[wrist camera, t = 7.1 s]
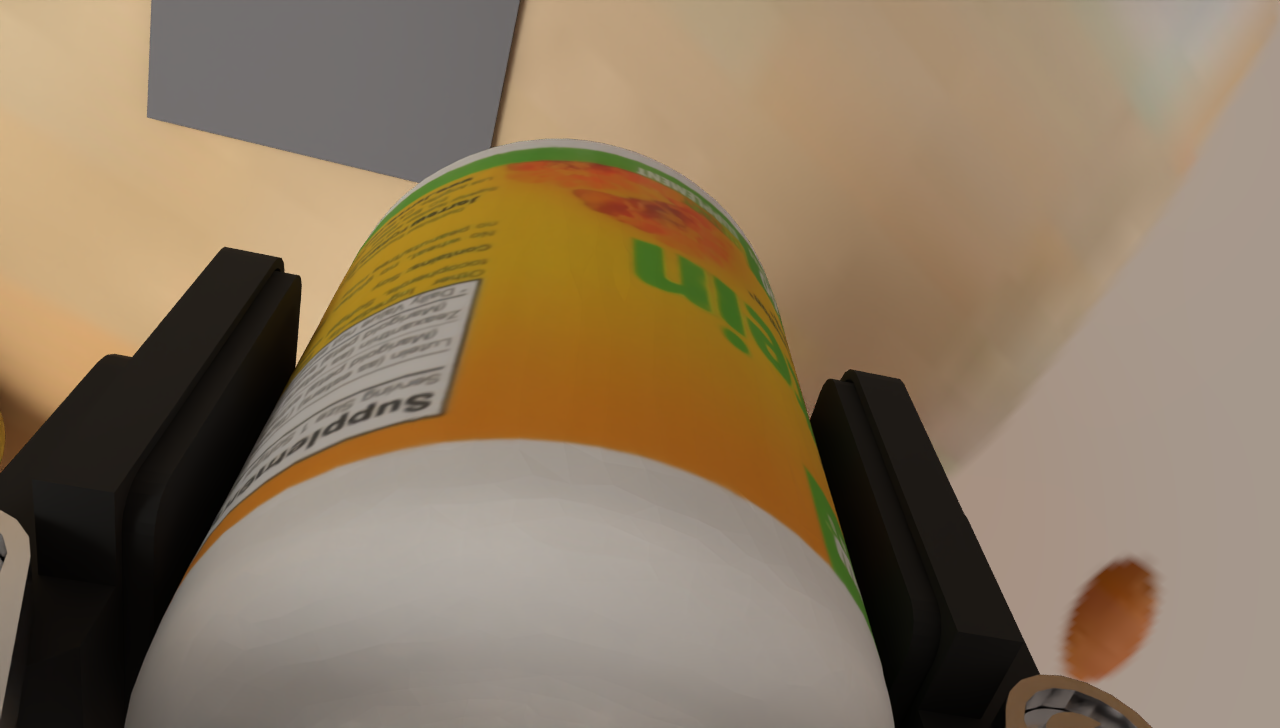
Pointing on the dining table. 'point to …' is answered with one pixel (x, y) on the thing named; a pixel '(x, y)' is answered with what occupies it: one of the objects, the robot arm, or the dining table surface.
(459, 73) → the mat
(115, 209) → the dining table surface
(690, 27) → the dining table surface
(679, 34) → the dining table surface
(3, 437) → the flower pot
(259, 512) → the supplement bottle
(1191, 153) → the dining table surface
